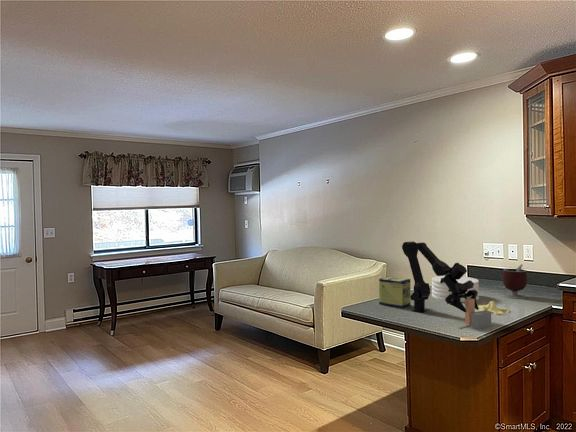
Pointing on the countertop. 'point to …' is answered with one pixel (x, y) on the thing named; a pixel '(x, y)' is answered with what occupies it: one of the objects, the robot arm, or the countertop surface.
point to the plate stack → (442, 291)
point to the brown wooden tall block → (469, 310)
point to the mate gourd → (515, 281)
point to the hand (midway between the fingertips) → (472, 310)
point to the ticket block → (479, 320)
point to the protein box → (394, 292)
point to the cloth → (493, 308)
